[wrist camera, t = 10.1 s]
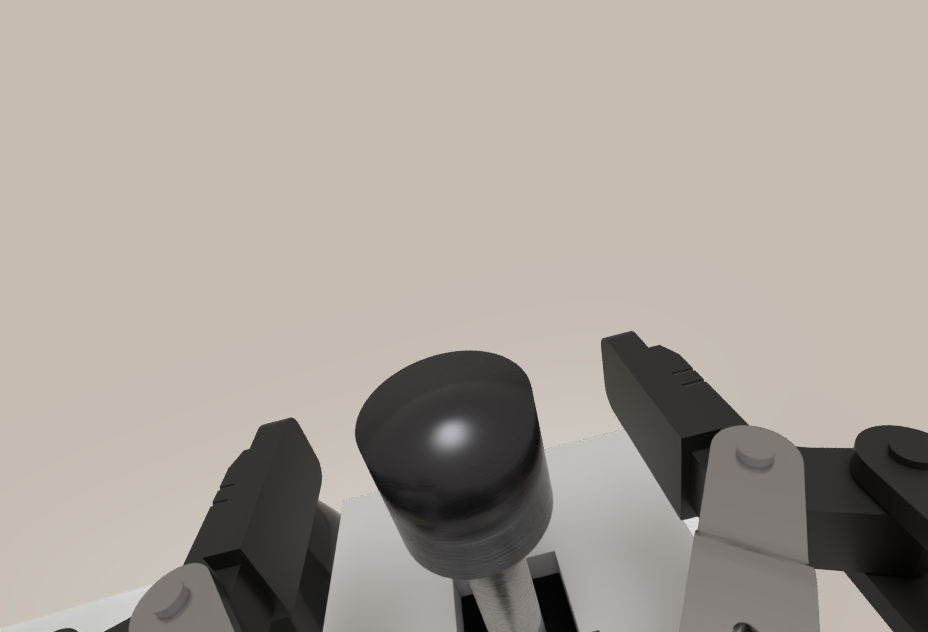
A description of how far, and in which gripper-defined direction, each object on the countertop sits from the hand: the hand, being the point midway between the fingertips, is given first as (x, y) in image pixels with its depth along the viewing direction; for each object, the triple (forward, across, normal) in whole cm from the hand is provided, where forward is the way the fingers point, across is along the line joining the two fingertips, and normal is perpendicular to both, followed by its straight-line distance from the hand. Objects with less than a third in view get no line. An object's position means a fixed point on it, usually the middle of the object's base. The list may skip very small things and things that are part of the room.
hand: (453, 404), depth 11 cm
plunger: (-2, 0, +26) cm, 26 cm away
